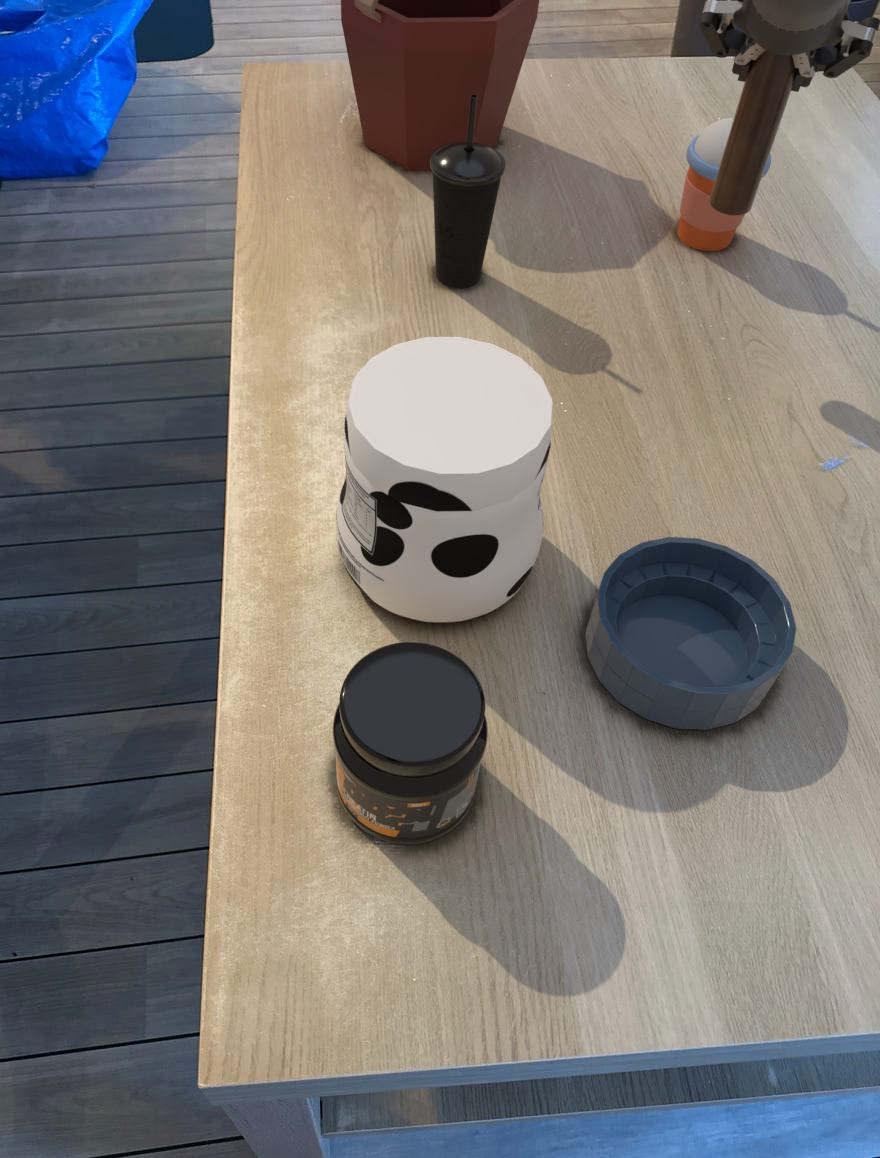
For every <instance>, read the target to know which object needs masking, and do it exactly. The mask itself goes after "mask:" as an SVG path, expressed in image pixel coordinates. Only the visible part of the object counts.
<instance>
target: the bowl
mask: <svg viewBox="0 0 880 1158" xmlns="http://www.w3.org/2000/svg"><path fill="white" fill-rule="evenodd" d="M795 621H796V620H795V617H794V614H793V609H792V605H791V601H790V600H789V599H788V597H787V596H786V594H785V593H784V591H783V590H782V588H781V586H780V585H779V583H778V582H777V580H776V579H775V578H774V577H772V576H771V575H770V574H769V573H768V572H767V571H766V570H765V569H764V568H762V566H760V565H759V563H757V562H755V561H754V559H752V558H749V557H748V556H746V555H744V554H742V553H740V552H738V551H736V550H735V549H732V548H731V547H729V546H726V545H723V544H720V543H716V542H712V541H709V540H705V539H702V538H699V537H684V536H683V537H679V536H667V537H661V538H657V539H656V538H655V539H652V540H647V541H642V542H640V543H638V544H636V545H635V546H633V547H630V548H629V549H627V550H625V551H624V552H621V553H620V554H619V555H617V557H616V558H615V559H614V561H613V562H612V563H611V564H610V565H609V566H608V567H607V569H606V570H605V571H604V573H603V575H602V578H601V581H600V584H599V587H598V591H597V594H596V597H595V600H594V603H593V607H592V610H591V613H590V616H589V620H588V622H587V626H586V629H585V633H584V634H585V635H584V636H585V643H586V645H585V646H586V653H587V654H586V655H587V658H588V661H589V662H590V664H591V668H592V669H593V671H594V673H595V676H596V678H597V680H598V681H599V683H600V684H601V685H602V686H603V687H604V688H605V689H606V690H607V691H608V693H609V694H611V695H612V697H613V698H614V699H615V700H616V702H618V703H619V704H621V705H622V706H624V707H626V708H628V709H629V710H630V711H632V712H634V713H635V714H636V715H639V716H640V717H642V718H643V719H645V720H648V721H651V722H654V723H657V724H661V725H664V726H667V727H669V728H673V729H677V730H678V729H679V730H701V731H706V730H707V731H708V730H712V729H715V728H720V727H724V726H728V725H732V724H735V723H737V722H738V721H740V720H742V719H744V718H745V717H746V716H747V715H749V714H751V713H752V712H754V711H755V710H757V708H759V706H760V705H761V703H762V702H763V700H764V699H765V697H766V696H767V694H768V692H769V691H770V690H771V688H772V686H773V684H775V681H776V680H777V678H778V677H779V675H780V673H781V671H782V670H783V669H784V667H785V665H786V663H788V661H789V659H790V657H791V656H792V654H793V652H794V646H795V641H796V633H797V625H796V622H795Z"/></svg>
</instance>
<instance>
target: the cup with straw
mask: <svg viewBox="0 0 880 1158" xmlns="http://www.w3.org/2000/svg"><path fill="white" fill-rule="evenodd" d="M733 120H734V117H727V118H722V119H719V120H716V121H714V122H713V123H711V124H709V125H708V126H707V127H706V128H705V129H703V131H701V133H700V134H698V135H697V136H695V137H694V138H693V139H692V140H691V141H690V142H689V144H688V147H687V149H686V155H685V157H686V161H687V164H688V165H689V167H688V169H687V171H686V174H685V180H684V185H683V191H682V195H681V202H680V207H679V214H680V216H679V221H678V228H677V236H678V238H679V239H680V241H682V243H683V244H684V245H686V246H688V247H690V248H693V249H695V250H698V251H702V252H703V251H705V252H717V251H721V250H724V249H726V248H727V247H729V245H730V244H731V242H732V240H733V238H734V236H735V233H736V231H737V229H738V227H739V226H740V225H741V223H742V222H743V220H744V217H745V215H746V214H743V215H737V216H735V215H727V214H723V213H720V212H718V211H717V210H715V209H714V208H713V207H712V206H711V205H710V197H711V193H712V190H713V187H714V183H715V180H716V177H717V173H718V170H719V167H720V163H721V160H722V157H723V153H724V150H725V147H726V143H727V140H728V137H729V133H730V130H731V126H732V123H733ZM771 165H772V155H771V154H770V155H769V158H768V160H767V163H766V166H765V169H764V172H763V175H762V178H764V177H765V176H766V175H767V174H768V172H769V170H770V168H771ZM762 178H761V179H762Z"/></svg>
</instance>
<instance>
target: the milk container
mask: <svg viewBox="0 0 880 1158" xmlns="http://www.w3.org/2000/svg"><path fill="white" fill-rule="evenodd" d="M352 379H353V380H352V384H351V386H350V387H351V388H350V392H349V396H348V399H347V405H346V409H345V417H344V460H345V461H344V462H345V479H344V482H343V485H342V487H341V489H340V492H339V493H340V494H339V497H338V500H337V504H336V511H335V536H336V541H337V546H338V550H339V554H340V558H341V561H342V564H343V565H344V567H345V570H346V573H347V575H348V576H349V577H350V579H351V580H352V582H353V584H355V586H356V587H357V588H358V589H359V590H360V591H361V592H362V593H363V594H364V595H365V596H366V597H367V598H368V600H371V601H372V602H373V603H375V604H376V605H378V606H380V607H381V608H382V609H384V610H386V611H388V612H389V613H391V614H393V615H396V616H399V617H402V618H405V619H408V620H412V621H416V622H422V623H427V624H452V623H453V624H454V623H462V622H465V621H466V622H467V621H471V620H472V619H476V618H479V617H482V616H485V615H487V614H489V613H491V612H493V611H495V610H497V609H499V607H501V606H502V605H504V604H505V603H507V602H508V601H509V600H511V598H513V597H514V596H515V595H516V594H517V593H518V592H519V591H520V589H521V588H522V587H523V585H524V584H525V582H526V581H527V579H528V577H529V576H530V574H531V573H532V570H533V568H534V566H535V563H536V561H537V559H538V556H539V554H540V549H541V546H542V542H543V534H544V513H543V506H542V500H541V491H542V485H543V483H544V478H545V474H546V470H547V466H548V460H549V456H550V451H551V445H552V444H551V443H552V429H553V413H554V403H553V398H552V396H551V394H550V392H549V390H548V388H547V385H546V383H545V381H544V379H543V377H542V376H541V375H540V374H539V373H538V372H537V371H536V370H534V368H533V367H531V366H530V364H529V363H527V362H526V361H525V360H524V359H523V358H522V357H520V356H518V355H516V354H514V353H512V352H510V351H508V350H506V349H504V348H502V347H500V346H498V345H496V344H493V343H491V342H485V341H481V340H476V339H472V338H467V337H463V336H425V337H420V338H417V339H412V340H409V341H408V340H407V341H404V342H400V343H396V344H394V345H392V346H390V347H389V348H386V349H385V350H383V351H381V352H379V353H378V354H375V356H373V357H371V358H369V360H368V361H367V362H366V363H365V364H364V365H363V367H362V368H361V369H360V371H358V373H357V374H356V375H355V376H354V378H352Z"/></svg>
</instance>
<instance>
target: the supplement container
mask: <svg viewBox="0 0 880 1158" xmlns="http://www.w3.org/2000/svg"><path fill="white" fill-rule="evenodd" d="M338 700H339V701H338V704H337V706H336V709H335V712H334V715H333V721H332V739H333V740H332V741H333V745H334V749H335V750H334V751H335V787H336V792H337V796H338V798H339V802H340V803H341V806H342V808H343V809H344V811H345V813H346V814H347V816H348V817H349V818H350V819H351V820H352V822H353V823H355V825H356V826H357V827H359V828H360V829H361V830H362V831H364V832H365V833H367V834H369V835H370V836H372V837H374V838H376V839H379V840H382V841H384V842H387V843H392V844H397V845H417V844H418V845H419V844H422V843H423V844H424V843H428V842H431V841H433V840H437V839H439V838H441V837H443V836H444V835H446V834H447V833H449V832H451V831H453V829H454V828H456V827H457V826H458V825H459V824H460V823H461V822H462V821H463V819H465V817H466V816H467V814H468V812H469V811H470V809H471V807H472V805H473V803H474V800H475V797H476V793H477V788H478V778H479V774H480V770H481V765H482V764H481V763H482V760H483V758H484V755H485V752H486V750H487V749H486V748H487V744H488V737H489V736H488V735H489V734H488V733H489V732H488V731H489V730H488V721H487V716H486V698H485V694H484V690H483V687H482V683H481V682H480V680H479V678H478V676H477V674H476V673H475V672H474V671H473V670H472V668H471V667H470V666H469V665H468V664H467V663H466V662H465V661H464V660H463V659H462V658H461V657H459V656H458V655H456V654H454V653H453V652H451V651H450V650H448V649H446V648H442V647H441V646H437V645H434V644H432V643H431V644H430V643H427V642H418V641H402V642H395V643H391V644H387V645H383V646H381V647H378V648H376V649H373V650H372V651H370V652H369V653H367V654H366V655H364V656H363V657H362V658H360V659H359V660H358V661H357V662H356V663H355V664H354V665H353V666H352V667H351V668H350V670H349V672H348V673H347V675H346V677H345V678H344V680H343V682H342V685H341V688H340V693H339V699H338Z"/></svg>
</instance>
